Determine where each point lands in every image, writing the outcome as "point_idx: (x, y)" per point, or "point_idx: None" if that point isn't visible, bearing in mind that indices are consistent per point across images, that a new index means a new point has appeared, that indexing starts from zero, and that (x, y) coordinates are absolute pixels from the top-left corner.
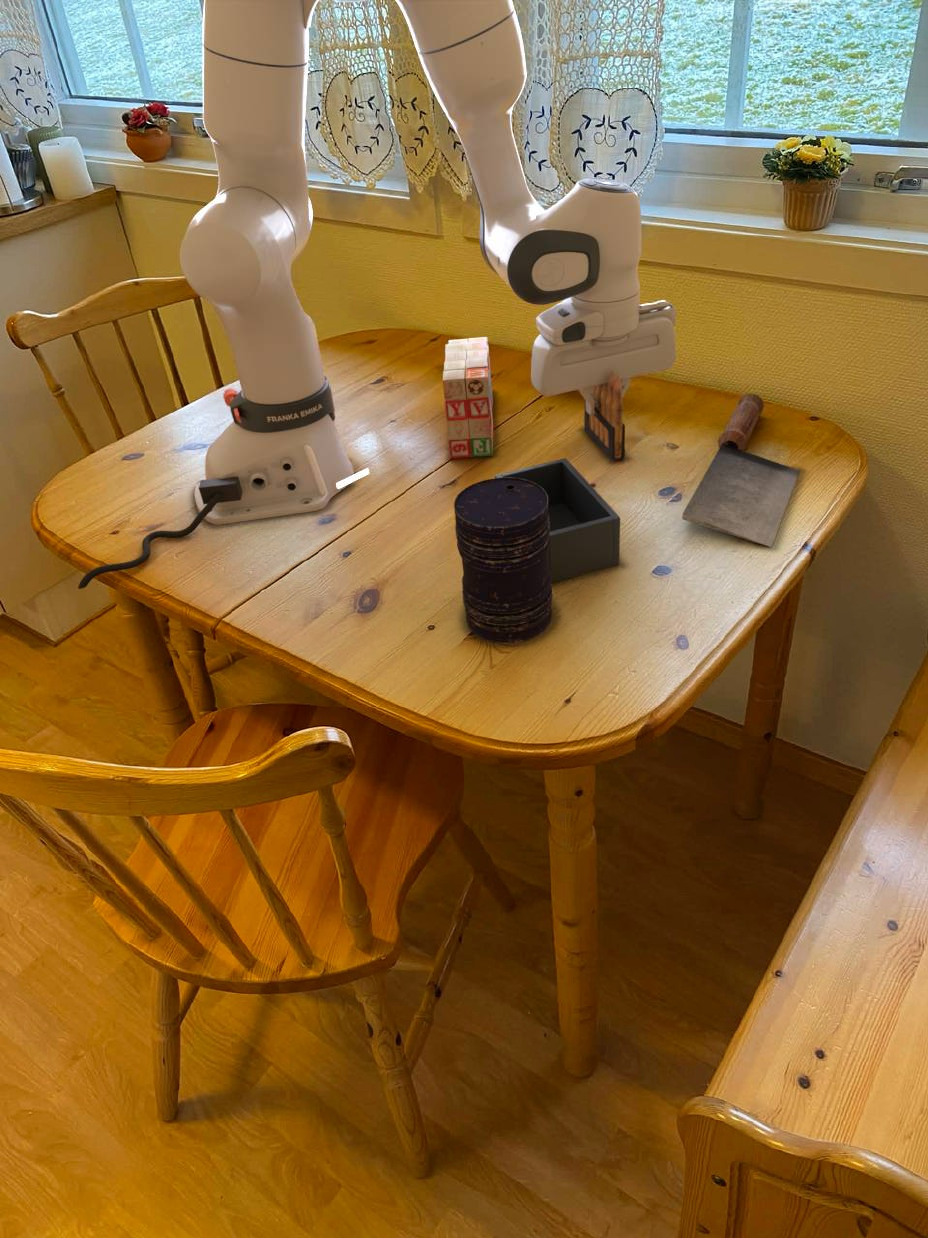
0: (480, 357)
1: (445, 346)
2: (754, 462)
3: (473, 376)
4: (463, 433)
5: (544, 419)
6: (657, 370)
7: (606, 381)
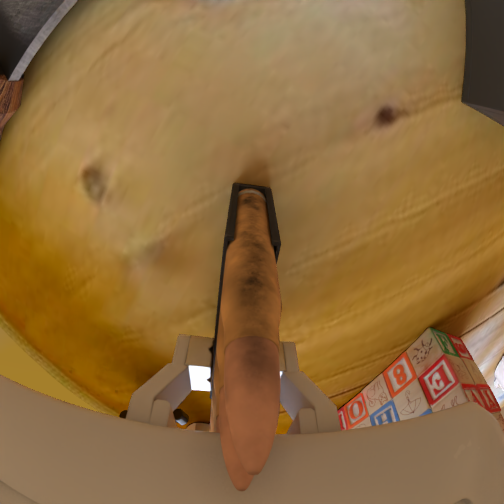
0: None
1: None
2: (7, 14)
3: None
4: (469, 365)
5: None
6: (24, 389)
7: None
